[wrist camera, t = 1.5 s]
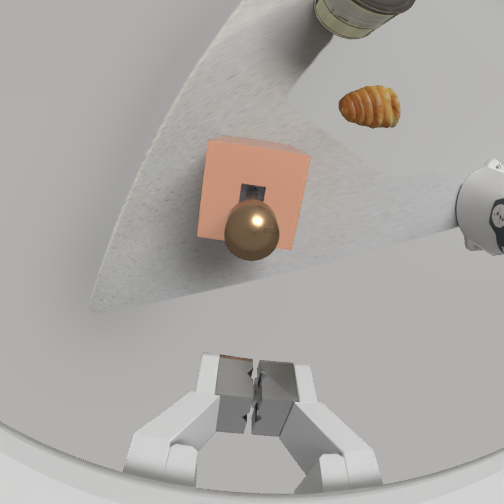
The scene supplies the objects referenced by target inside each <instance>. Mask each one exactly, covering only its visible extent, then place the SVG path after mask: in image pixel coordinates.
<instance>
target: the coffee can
mask: <svg viewBox="0 0 504 504" xmlns="http://www.w3.org/2000/svg"><path fill="white" fill-rule="evenodd" d="M414 2H415V0H315V2H314V11H315V14H316V17H317V18H318V20H319V22H320V23H321V24H322V25H323V26H324V27H325V28H326V29H327V30H328V31H330V32H331V33H333V34H335V35H337V36H339V37H342V38H347V39H360V38H364V37H366V36H368V35H369V34H370V33H371V32H373V31H374V30H375V29H377V28H378V27H380V26H381V25H383V24H385V23H386V22H388V21H389V20H390V19H392V18H394V17H395V16H397V15H398V14H400V13H403V12H405V11H407V10H408V9H409V8H411V7H412V5H413V4H414Z"/></svg>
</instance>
